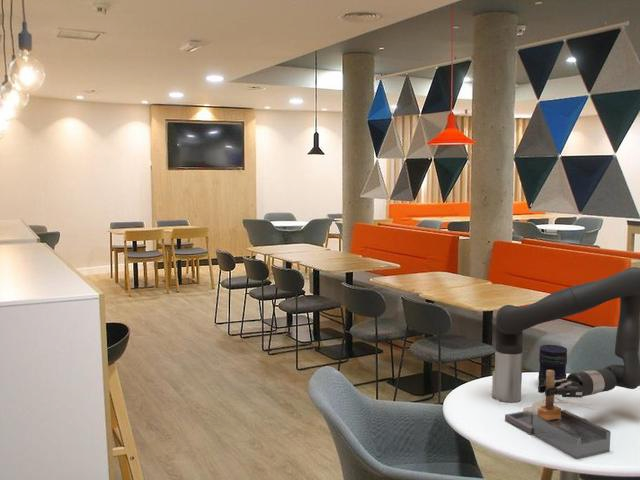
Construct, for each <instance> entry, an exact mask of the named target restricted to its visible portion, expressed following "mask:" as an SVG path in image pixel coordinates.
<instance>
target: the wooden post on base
mask: <svg viewBox="0 0 640 480" xmlns="http://www.w3.org/2000/svg"><path fill="white" fill-rule="evenodd" d="M554 378H555V371H554V370H546V389H547V388H553V387H554ZM545 396H546V395H545ZM554 397H555V395H552V396H546V397H545V400H546V401H545V402H546V403H545V407H542V408H538V416H540V417H542V418H544V419H546V420H553V419H558V418H561V410H562V408H561V407H559V406H557V405H555V403H554V402H555V398H554Z"/></svg>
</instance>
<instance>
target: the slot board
mask: <svg viewBox="0 0 640 480" xmlns="http://www.w3.org/2000/svg"><path fill="white" fill-rule="evenodd" d="M611 432H612V431H610V430H608V429H606V428H604V427H603V426H600V425H598V424H596V423H594V422H591V421H589V420H588V419H586V418H583V417H581V416H579V415H577V414H574V413H572V412H570V411H568V410H566V409H561V418H558V419H553V420H546V419H544V418H542V417H540V416H538V415H534V416H533V426H532V435H533V436H534V437H537V439H539V440H542V441H544V442H545V443H547V444H549V445H550V446H552V447H553V448H556V449H557V450H559V451H561V452H563V453H564V454H567V455H568V456H570V457H571V458H573V459H576V460H578V459H581V458H585V457H591V456H595V455H599V454H605V453H609V452H610V451H611Z"/></svg>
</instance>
